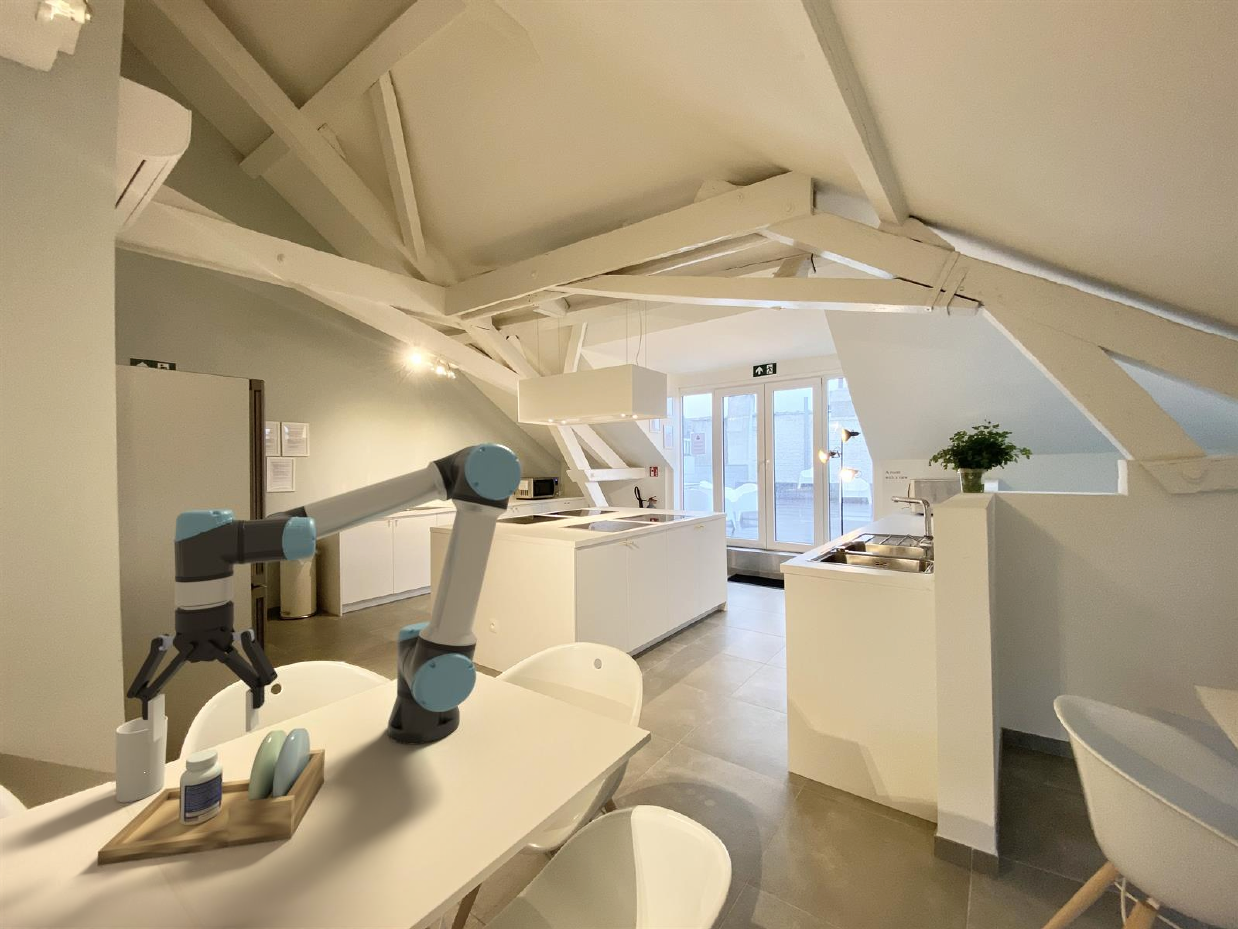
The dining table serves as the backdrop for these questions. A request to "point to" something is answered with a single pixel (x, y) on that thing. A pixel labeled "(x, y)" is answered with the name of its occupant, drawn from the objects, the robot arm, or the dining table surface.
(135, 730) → the mug
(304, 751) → the plate blue
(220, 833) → the dish rack
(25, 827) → the dining table surface
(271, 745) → the plate sage
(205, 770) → the pill bottle
